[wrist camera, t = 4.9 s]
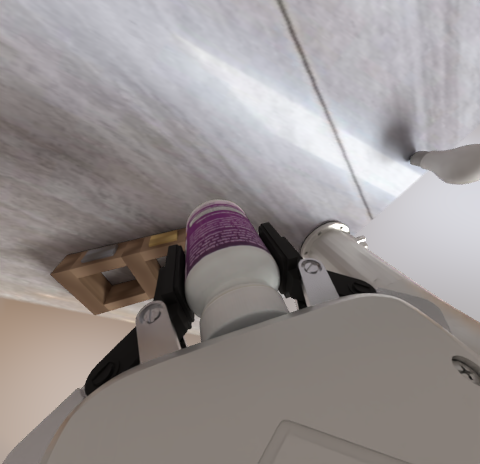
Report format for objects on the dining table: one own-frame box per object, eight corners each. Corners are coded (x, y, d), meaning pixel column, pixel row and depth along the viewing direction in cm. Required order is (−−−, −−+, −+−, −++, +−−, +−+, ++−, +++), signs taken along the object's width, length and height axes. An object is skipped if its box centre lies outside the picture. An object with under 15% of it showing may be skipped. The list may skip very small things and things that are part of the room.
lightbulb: (395, 157, 33) (474, 170, 24) (425, 132, 32) (519, 135, 23) (400, 179, 36) (470, 197, 27) (426, 157, 35) (509, 168, 26)
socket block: (197, 222, 29) (199, 235, 25) (210, 265, 34) (213, 280, 31) (65, 253, 25) (47, 272, 22) (104, 295, 31) (94, 315, 28)
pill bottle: (171, 223, 14) (146, 358, 6) (224, 184, 13) (279, 274, 5) (212, 260, 17) (233, 381, 9) (256, 229, 16) (322, 330, 8)
